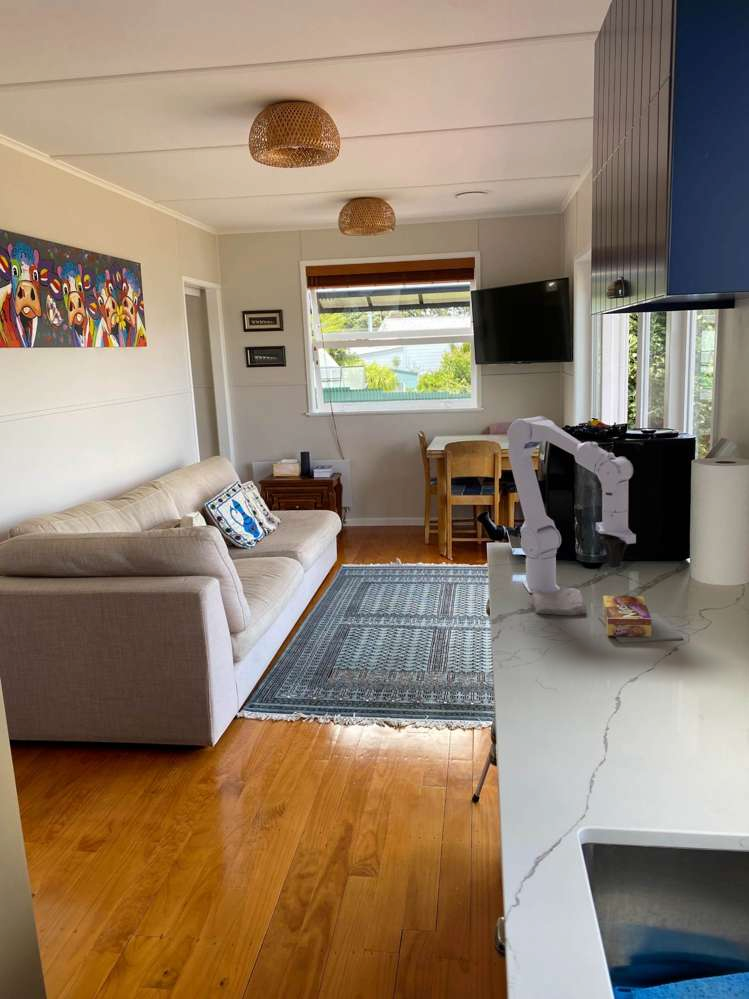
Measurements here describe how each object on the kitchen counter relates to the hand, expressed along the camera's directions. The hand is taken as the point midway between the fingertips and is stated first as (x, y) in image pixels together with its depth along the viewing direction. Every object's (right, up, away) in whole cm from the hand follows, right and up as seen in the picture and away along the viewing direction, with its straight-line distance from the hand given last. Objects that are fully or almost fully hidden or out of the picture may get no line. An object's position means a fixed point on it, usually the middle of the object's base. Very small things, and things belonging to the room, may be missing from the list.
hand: (614, 566), depth 175 cm
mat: (+1, -12, -14) cm, 19 cm away
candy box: (0, -8, -5) cm, 10 cm away
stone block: (-13, -11, +1) cm, 17 cm away
